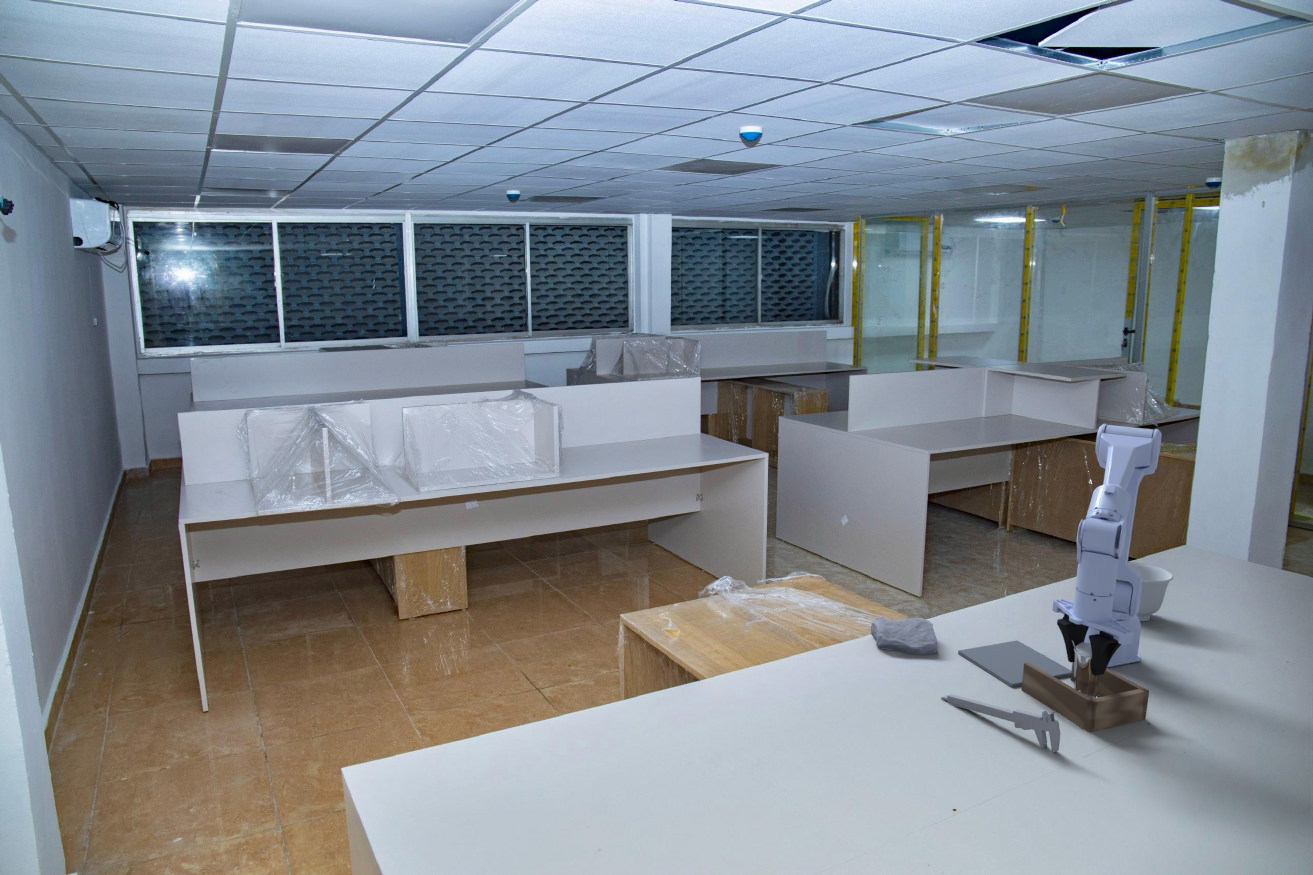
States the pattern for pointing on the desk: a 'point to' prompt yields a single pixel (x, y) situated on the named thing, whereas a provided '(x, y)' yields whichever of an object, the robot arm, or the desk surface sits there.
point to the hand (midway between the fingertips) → (1085, 667)
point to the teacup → (1151, 588)
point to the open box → (1110, 709)
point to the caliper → (1016, 719)
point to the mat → (1012, 661)
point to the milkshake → (1084, 670)
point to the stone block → (905, 635)
